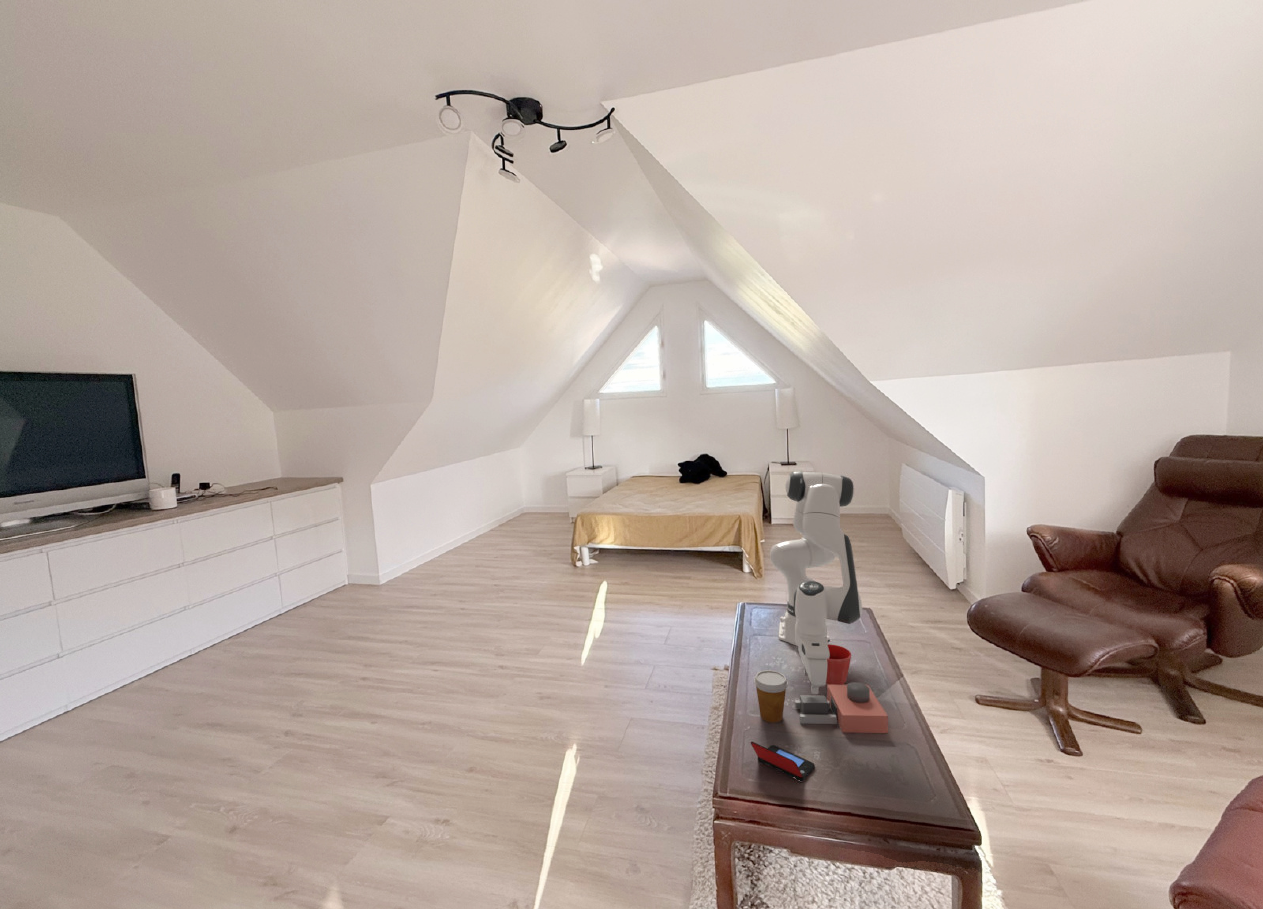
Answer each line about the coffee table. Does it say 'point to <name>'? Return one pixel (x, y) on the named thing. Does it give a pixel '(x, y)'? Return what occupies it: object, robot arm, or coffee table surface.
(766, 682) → the disposable coffee cup
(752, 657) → the coffee table surface
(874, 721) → the pink block with rods
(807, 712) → the tall grey rectangular block
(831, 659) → the flower pot
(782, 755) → the handheld game console
